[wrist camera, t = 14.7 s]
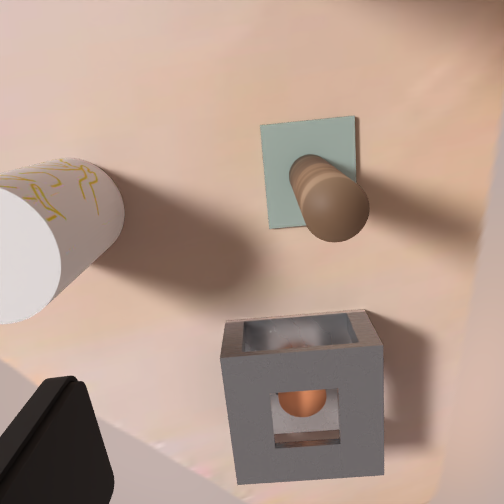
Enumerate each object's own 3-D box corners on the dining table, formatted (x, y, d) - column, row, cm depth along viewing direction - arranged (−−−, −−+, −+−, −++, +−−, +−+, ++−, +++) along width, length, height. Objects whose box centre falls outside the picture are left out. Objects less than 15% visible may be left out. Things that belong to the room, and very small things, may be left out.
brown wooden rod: (287, 156, 33) (300, 181, 21) (329, 151, 33) (368, 174, 21) (290, 198, 34) (305, 245, 22) (331, 193, 34) (370, 239, 22)
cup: (130, 170, 34) (67, 200, 23) (118, 265, 37) (55, 336, 25) (26, 147, 34) (-92, 167, 22) (20, 245, 36) (-88, 308, 25)
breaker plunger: (275, 364, 38) (276, 378, 36) (321, 360, 38) (325, 374, 36) (279, 403, 39) (280, 418, 37) (324, 399, 39) (327, 415, 37)
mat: (260, 125, 33) (260, 125, 33) (353, 115, 33) (354, 115, 32) (269, 227, 35) (269, 228, 35) (356, 219, 35) (357, 220, 35)
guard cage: (225, 320, 38) (219, 358, 32) (364, 309, 38) (383, 345, 32) (240, 433, 42) (237, 484, 36) (366, 424, 41) (384, 475, 36)
